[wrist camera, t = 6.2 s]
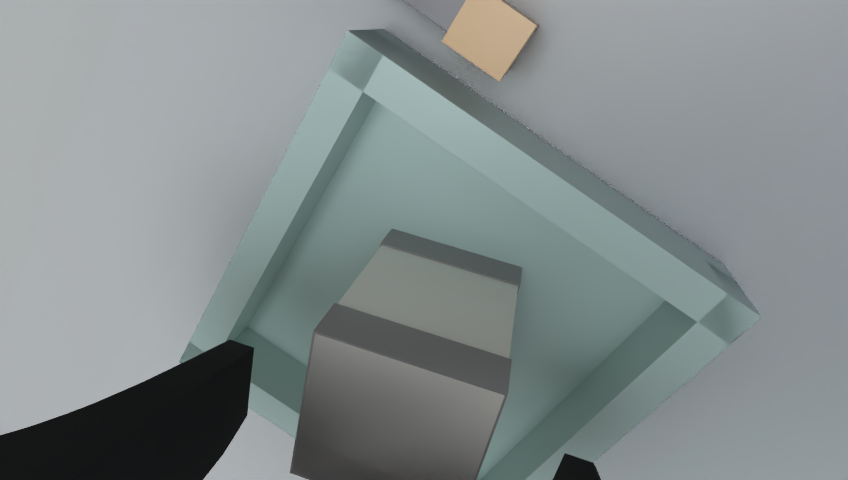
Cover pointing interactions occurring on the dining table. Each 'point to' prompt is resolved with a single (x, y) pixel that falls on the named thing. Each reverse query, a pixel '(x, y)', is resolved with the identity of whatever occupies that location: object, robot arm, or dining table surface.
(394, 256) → the gray block
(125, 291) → the dining table surface
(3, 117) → the dining table surface
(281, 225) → the tray
